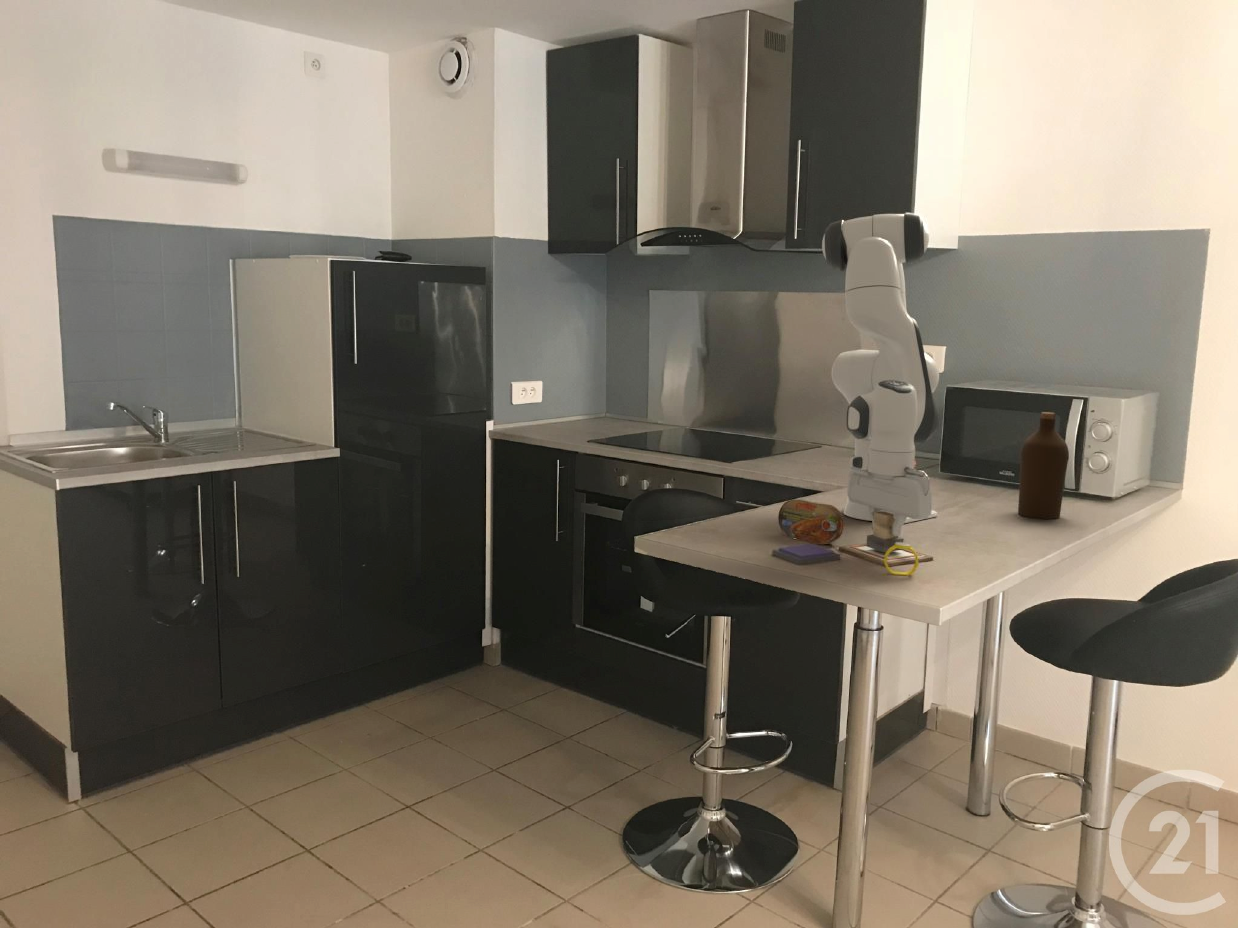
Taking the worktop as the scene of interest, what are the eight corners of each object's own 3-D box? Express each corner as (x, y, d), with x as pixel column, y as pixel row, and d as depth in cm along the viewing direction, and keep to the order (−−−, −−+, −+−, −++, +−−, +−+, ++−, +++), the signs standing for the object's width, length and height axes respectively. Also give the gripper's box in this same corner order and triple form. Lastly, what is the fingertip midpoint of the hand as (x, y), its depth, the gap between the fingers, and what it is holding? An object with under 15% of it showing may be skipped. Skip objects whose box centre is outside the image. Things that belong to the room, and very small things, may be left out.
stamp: (885, 543, 199) (887, 509, 198) (902, 549, 195) (905, 514, 194) (866, 546, 197) (868, 511, 196) (883, 552, 192) (886, 516, 191)
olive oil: (1031, 520, 232) (1041, 415, 228) (1006, 510, 242) (1015, 410, 238) (1072, 519, 234) (1082, 415, 230) (1045, 510, 244) (1054, 410, 240)
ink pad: (811, 549, 199) (812, 542, 199) (839, 559, 191) (840, 552, 191) (772, 554, 194) (772, 547, 194) (799, 564, 187) (799, 557, 186)
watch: (915, 575, 183) (919, 544, 182) (916, 579, 180) (921, 548, 179) (882, 570, 184) (886, 539, 183) (883, 574, 181) (887, 543, 180)
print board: (882, 544, 205) (883, 539, 205) (932, 560, 193) (933, 555, 193) (838, 549, 199) (838, 545, 199) (887, 566, 187) (887, 562, 187)
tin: (776, 534, 211) (778, 496, 210) (785, 532, 213) (787, 494, 212) (836, 548, 201) (838, 508, 199) (844, 545, 203) (847, 506, 201)
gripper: (942, 471, 185) (936, 542, 188) (867, 455, 203) (863, 520, 205) (917, 473, 182) (912, 545, 185) (844, 457, 200) (840, 523, 202)
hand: (885, 532), depth 195 cm, fingers closed on stamp, 3 cm apart
